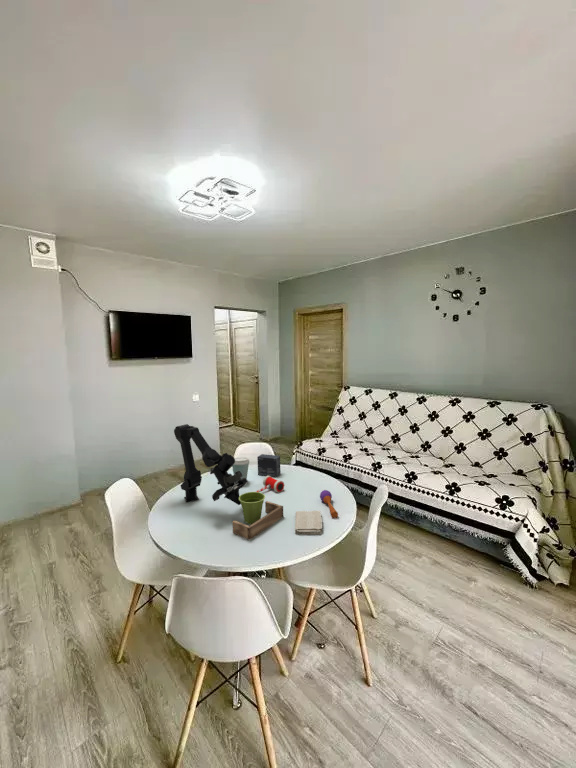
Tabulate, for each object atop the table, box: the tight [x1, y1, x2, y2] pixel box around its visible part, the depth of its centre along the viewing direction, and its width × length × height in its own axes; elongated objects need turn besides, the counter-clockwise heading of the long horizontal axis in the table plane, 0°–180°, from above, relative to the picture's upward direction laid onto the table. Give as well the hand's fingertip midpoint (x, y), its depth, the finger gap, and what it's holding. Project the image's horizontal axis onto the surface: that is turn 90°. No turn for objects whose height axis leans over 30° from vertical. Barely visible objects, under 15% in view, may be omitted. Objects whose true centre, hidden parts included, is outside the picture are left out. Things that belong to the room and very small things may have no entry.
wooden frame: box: [231, 500, 284, 541], centre depth 143 cm, size 10×23×5 cm, turn 145°
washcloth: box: [294, 510, 323, 536], centre depth 143 cm, size 12×18×3 cm, turn 178°
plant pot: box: [239, 491, 266, 526], centre depth 146 cm, size 12×12×11 cm
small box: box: [256, 453, 281, 478], centre depth 203 cm, size 13×7×12 cm, turn 69°
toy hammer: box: [255, 476, 285, 493], centre depth 176 cm, size 23×12×6 cm, turn 131°
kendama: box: [319, 489, 339, 519], centre depth 157 cm, size 6×6×20 cm
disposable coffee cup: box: [231, 456, 250, 484], centre depth 190 cm, size 11×11×15 cm
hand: (240, 504), depth 149 cm, fingers closed
